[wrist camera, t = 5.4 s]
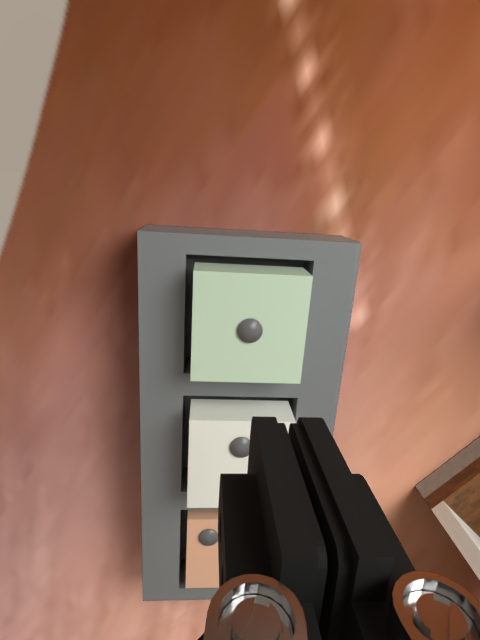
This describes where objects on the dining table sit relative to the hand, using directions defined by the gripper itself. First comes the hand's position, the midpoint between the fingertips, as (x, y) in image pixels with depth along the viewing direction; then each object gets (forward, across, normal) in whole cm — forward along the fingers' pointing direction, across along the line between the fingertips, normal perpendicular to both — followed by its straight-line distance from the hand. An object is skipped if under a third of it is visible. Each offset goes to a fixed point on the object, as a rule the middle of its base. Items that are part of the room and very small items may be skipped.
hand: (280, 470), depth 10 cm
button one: (+11, 0, -1) cm, 11 cm away
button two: (+11, 0, +6) cm, 12 cm away
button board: (+13, 0, +6) cm, 15 cm away
